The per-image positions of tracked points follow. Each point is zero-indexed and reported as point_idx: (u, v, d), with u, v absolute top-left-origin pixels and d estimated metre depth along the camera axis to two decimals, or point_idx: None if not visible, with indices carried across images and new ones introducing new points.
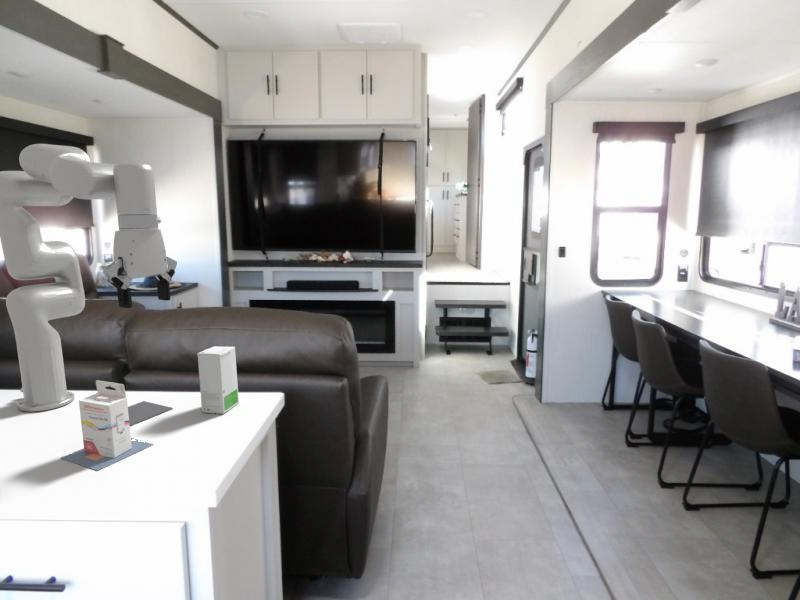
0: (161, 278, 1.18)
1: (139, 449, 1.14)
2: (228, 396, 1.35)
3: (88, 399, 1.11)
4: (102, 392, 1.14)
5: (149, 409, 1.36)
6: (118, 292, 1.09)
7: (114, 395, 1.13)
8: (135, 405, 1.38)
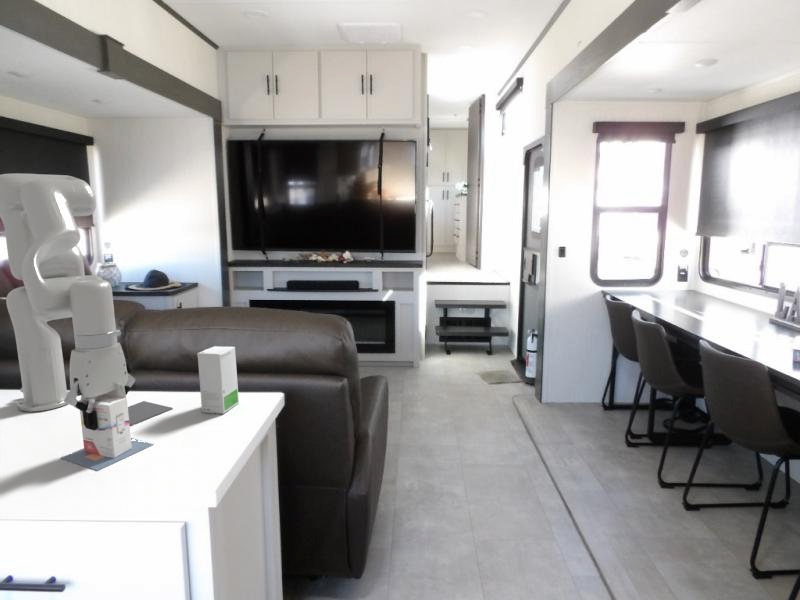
0: None
1: (139, 449, 1.14)
2: (228, 396, 1.35)
3: None
4: None
5: (149, 409, 1.36)
6: (83, 415, 1.08)
7: (114, 395, 1.13)
8: (135, 405, 1.38)
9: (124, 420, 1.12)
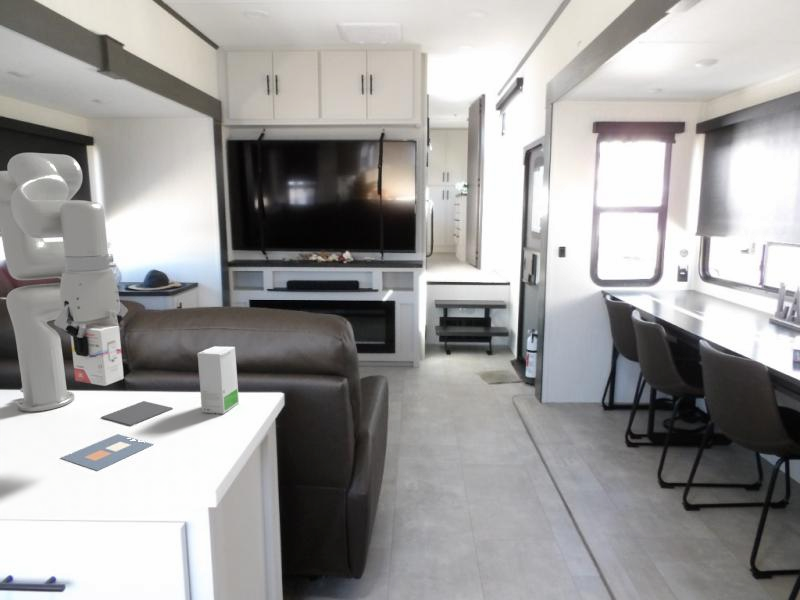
0: None
1: (139, 449, 1.14)
2: (228, 396, 1.35)
3: None
4: None
5: (149, 409, 1.36)
6: (74, 340, 1.06)
7: (106, 323, 1.10)
8: (135, 405, 1.38)
9: (116, 348, 1.09)
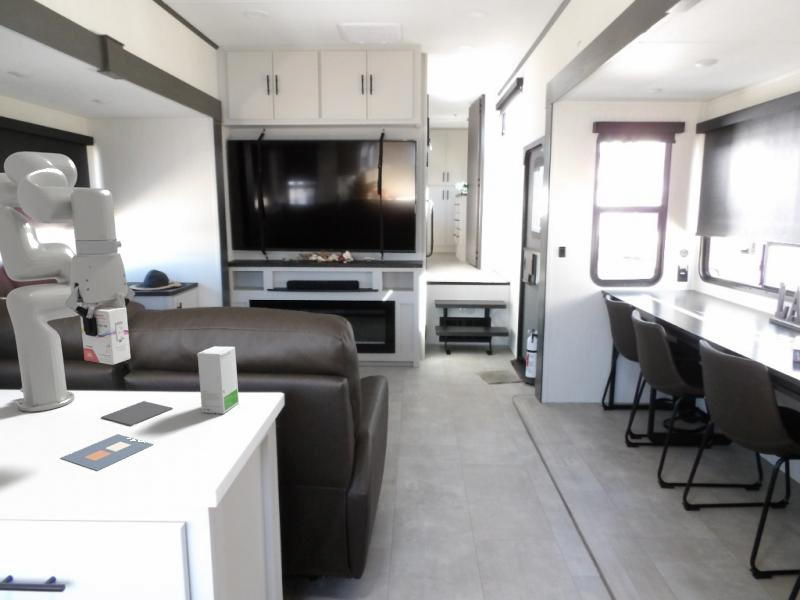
0: None
1: (139, 449, 1.14)
2: (228, 396, 1.35)
3: None
4: (103, 302, 1.16)
5: (149, 409, 1.36)
6: (83, 321, 1.11)
7: (114, 305, 1.15)
8: (135, 405, 1.38)
9: (123, 329, 1.14)
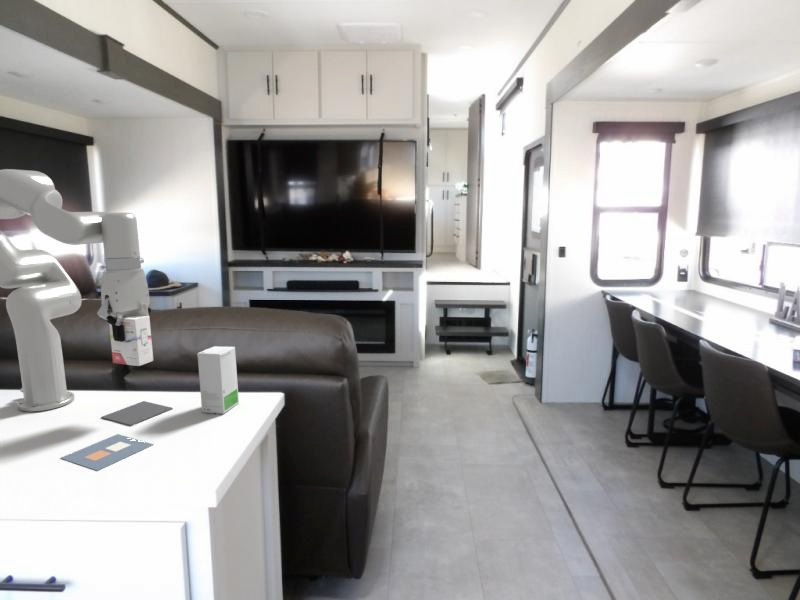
0: None
1: (139, 449, 1.14)
2: (228, 396, 1.35)
3: None
4: (128, 312, 1.32)
5: (149, 409, 1.36)
6: (113, 328, 1.27)
7: (138, 314, 1.31)
8: (135, 405, 1.38)
9: (147, 335, 1.30)
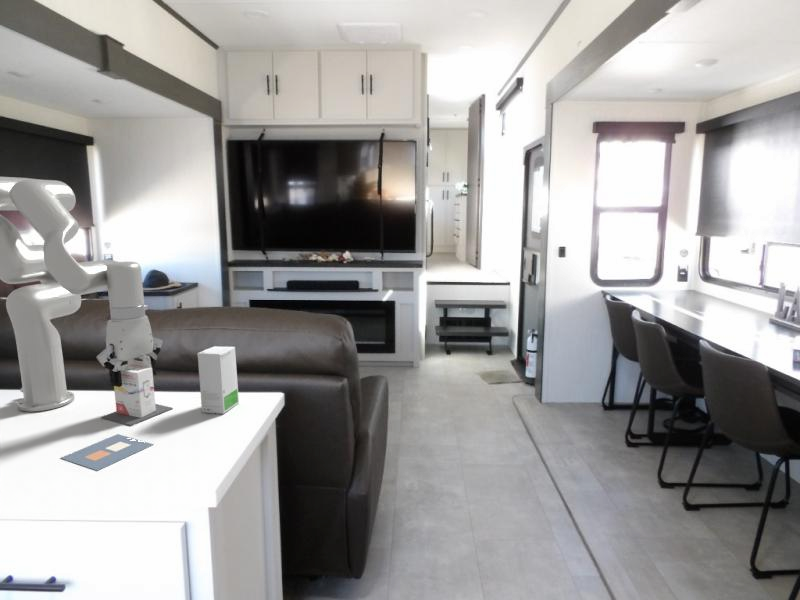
0: None
1: (139, 449, 1.14)
2: (228, 396, 1.35)
3: (120, 368, 1.31)
4: (132, 362, 1.35)
5: None
6: (110, 373, 1.27)
7: (141, 365, 1.33)
8: None
9: (149, 386, 1.32)
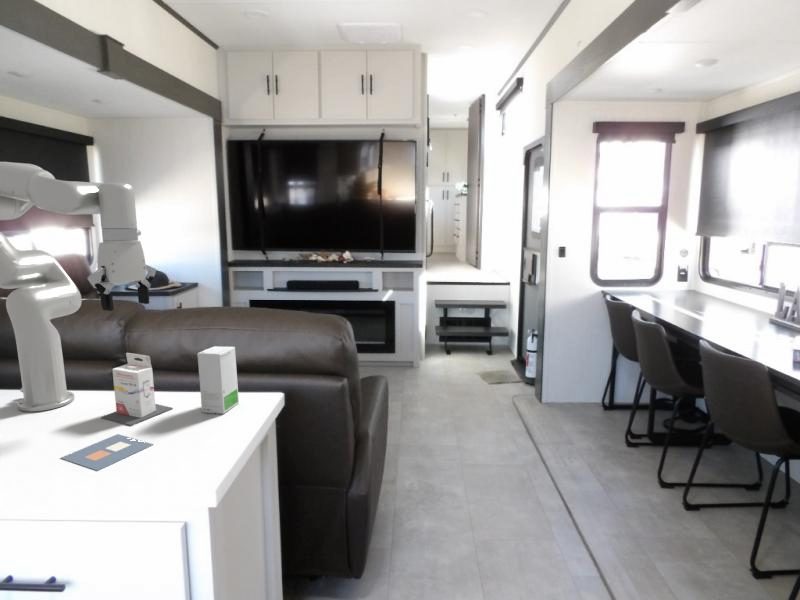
0: (141, 284, 1.33)
1: (139, 449, 1.14)
2: (228, 396, 1.35)
3: (120, 368, 1.31)
4: (132, 362, 1.35)
5: None
6: (101, 296, 1.24)
7: (141, 365, 1.33)
8: None
9: (149, 386, 1.32)
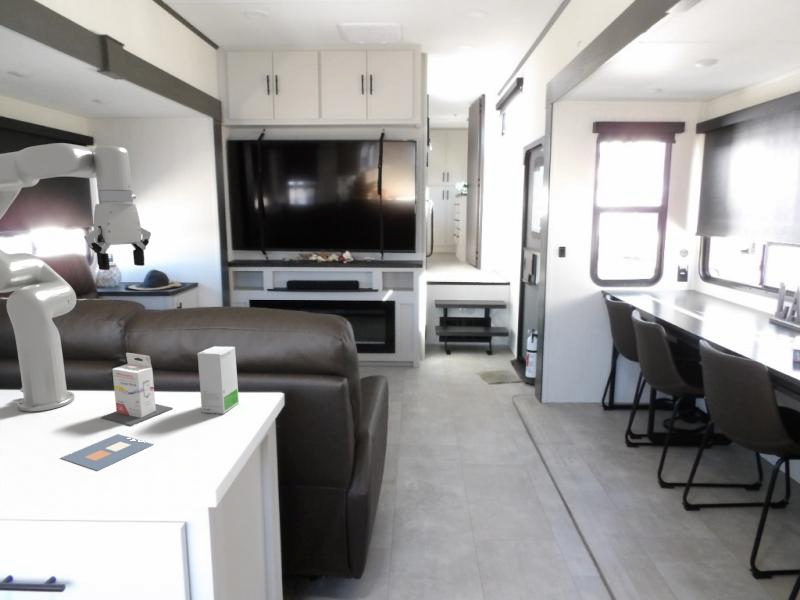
0: (136, 246, 1.38)
1: (139, 449, 1.14)
2: (228, 396, 1.35)
3: (120, 368, 1.31)
4: (132, 362, 1.35)
5: None
6: (97, 256, 1.28)
7: (141, 365, 1.33)
8: None
9: (149, 386, 1.32)
